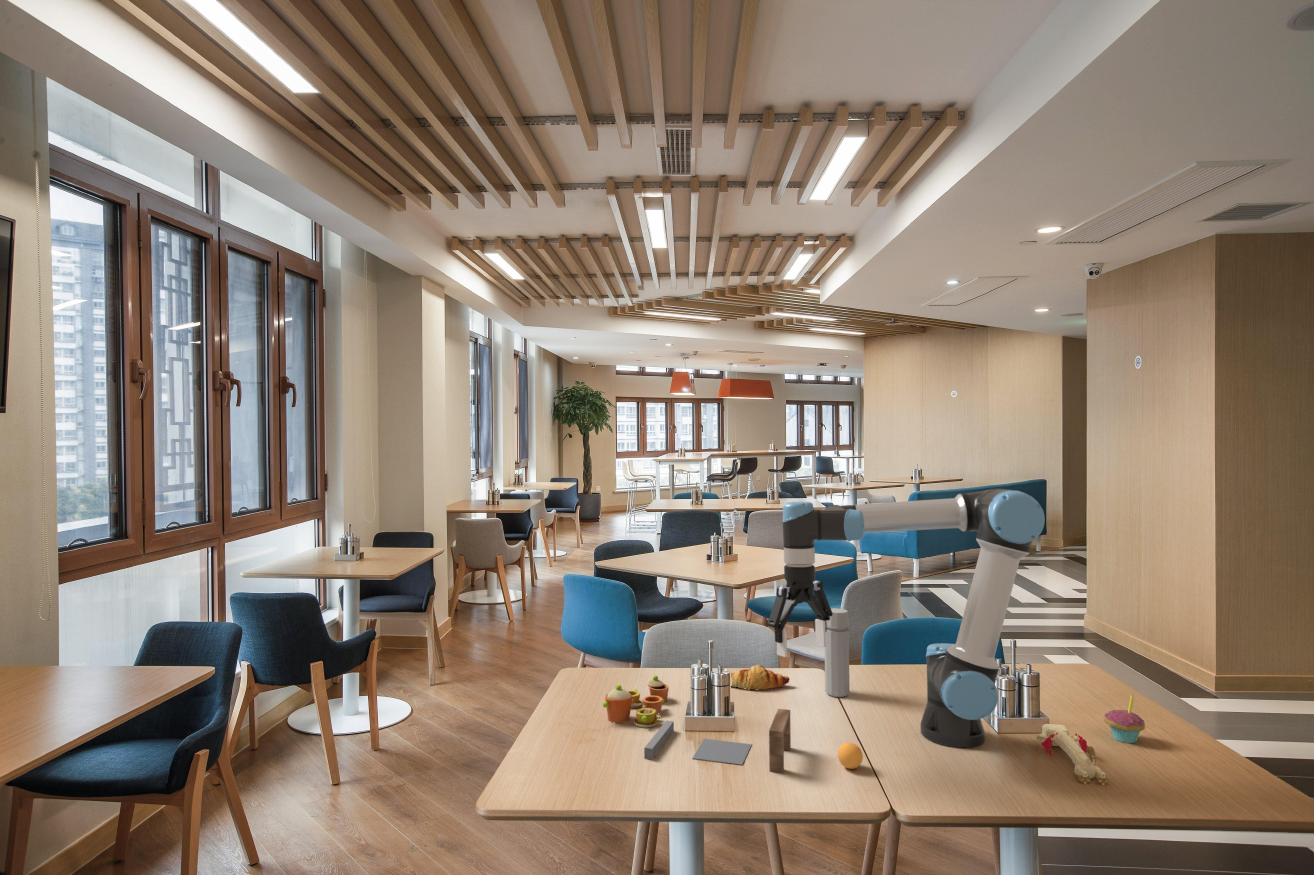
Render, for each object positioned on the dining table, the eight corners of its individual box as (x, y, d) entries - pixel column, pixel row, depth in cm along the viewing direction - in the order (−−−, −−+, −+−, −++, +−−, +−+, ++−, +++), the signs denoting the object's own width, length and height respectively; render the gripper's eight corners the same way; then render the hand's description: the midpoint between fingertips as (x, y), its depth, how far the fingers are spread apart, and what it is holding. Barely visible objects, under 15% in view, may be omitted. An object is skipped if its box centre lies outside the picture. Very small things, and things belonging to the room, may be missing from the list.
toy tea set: (656, 732, 185) (656, 694, 185) (599, 727, 188) (599, 691, 188) (675, 698, 210) (675, 665, 210) (625, 695, 214) (624, 662, 214)
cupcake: (1141, 736, 179) (1140, 688, 179) (1148, 749, 171) (1147, 699, 172) (1102, 731, 183) (1100, 684, 183) (1107, 743, 175) (1106, 694, 175)
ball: (863, 764, 164) (862, 740, 164) (862, 774, 159) (862, 749, 159) (838, 761, 165) (838, 737, 166) (837, 771, 160) (837, 746, 160)
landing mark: (751, 745, 175) (751, 744, 175) (742, 765, 164) (742, 764, 164) (704, 739, 179) (704, 738, 179) (692, 758, 167) (692, 758, 167)
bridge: (790, 747, 173) (790, 709, 174) (782, 773, 160) (782, 731, 160) (778, 746, 174) (778, 708, 174) (769, 771, 160) (769, 730, 161)
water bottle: (851, 699, 208) (850, 613, 208) (824, 697, 209) (823, 612, 210) (849, 689, 217) (848, 607, 217) (823, 687, 218) (822, 606, 219)
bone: (1118, 792, 153) (1070, 737, 177) (1119, 753, 152) (1070, 703, 177) (1069, 789, 154) (1028, 735, 179) (1069, 750, 154) (1028, 701, 178)
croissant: (721, 699, 218) (720, 680, 215) (720, 675, 227) (720, 656, 224) (790, 699, 216) (791, 680, 213) (787, 675, 225) (787, 656, 222)
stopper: (673, 731, 184) (673, 721, 184) (652, 759, 167) (652, 748, 167) (666, 730, 185) (666, 720, 185) (644, 758, 168) (644, 747, 168)
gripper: (822, 557, 185) (825, 639, 184) (751, 568, 171) (753, 656, 170) (845, 560, 179) (847, 645, 178) (773, 571, 165) (775, 663, 164)
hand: (801, 650), depth 174 cm, fingers open, 13 cm apart
